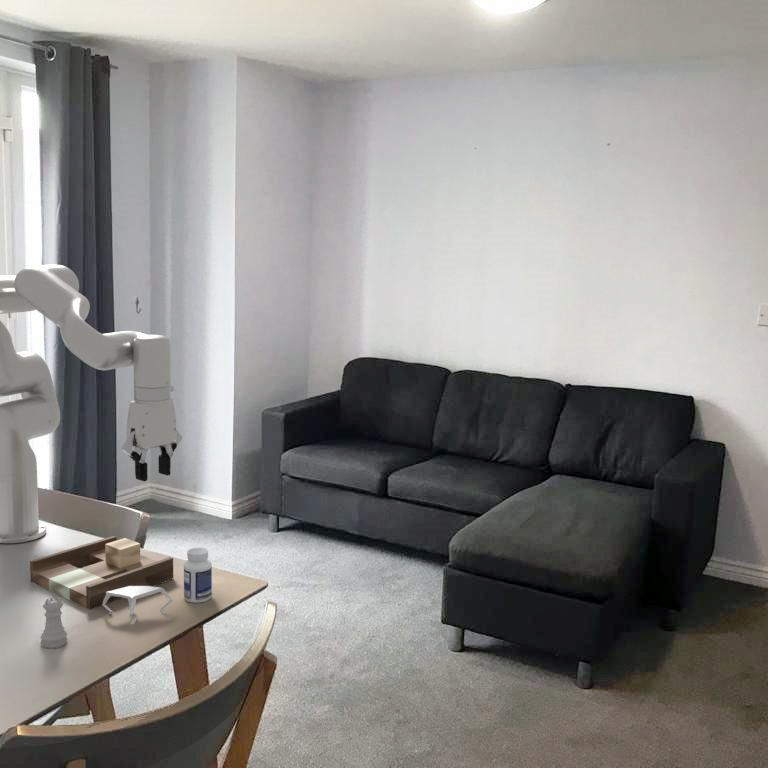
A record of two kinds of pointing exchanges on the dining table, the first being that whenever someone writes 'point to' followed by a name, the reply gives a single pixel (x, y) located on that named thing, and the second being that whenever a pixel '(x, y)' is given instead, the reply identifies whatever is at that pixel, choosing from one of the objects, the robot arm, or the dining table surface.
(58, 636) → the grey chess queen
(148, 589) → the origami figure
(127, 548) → the maple block
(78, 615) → the dining table surface
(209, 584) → the pill bottle
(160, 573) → the board
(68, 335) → the robot arm
